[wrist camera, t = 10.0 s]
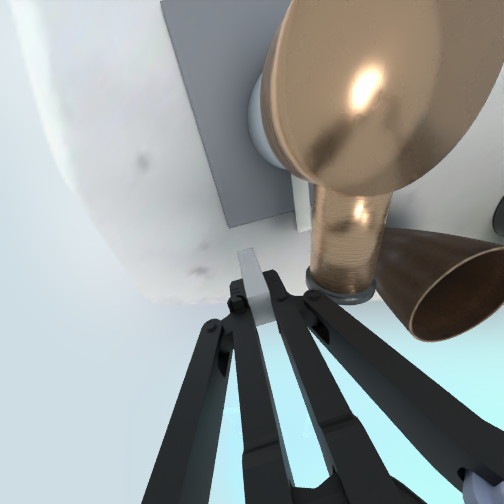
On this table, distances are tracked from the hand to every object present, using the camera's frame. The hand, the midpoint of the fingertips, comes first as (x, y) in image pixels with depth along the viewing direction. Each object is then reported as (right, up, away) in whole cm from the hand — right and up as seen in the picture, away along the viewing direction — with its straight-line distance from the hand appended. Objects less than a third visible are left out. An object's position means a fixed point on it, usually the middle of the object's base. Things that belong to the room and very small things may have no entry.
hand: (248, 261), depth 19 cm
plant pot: (+24, +2, +19) cm, 31 cm away
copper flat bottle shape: (+8, +9, 0) cm, 12 cm away
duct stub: (+6, +17, +8) cm, 20 cm away
